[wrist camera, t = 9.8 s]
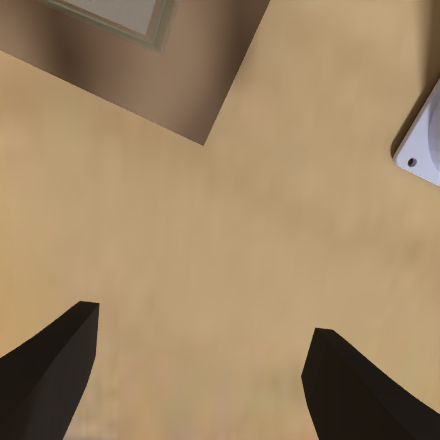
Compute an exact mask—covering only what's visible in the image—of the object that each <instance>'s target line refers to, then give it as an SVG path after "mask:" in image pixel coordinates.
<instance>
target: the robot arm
mask: <svg viewBox="0 0 440 440" xmlns="http://www.w3.org/2000/svg"><path fill="white" fill-rule="evenodd" d="M411 158H413V163H412V164H411V165H409V166H408V160H409V159H411ZM393 162H394V164H395V165H397V166H398V167H400V168H402V169H404V170H406V171H408V172H411V173H413V174H415V175H417V176H419V177H421V178H423V179H425V180H427V181H429V182H431V183H433V184H435V185H437V186H439V187H440V78H439V80H438V82H437V83H436V85H435V87H434V88H433V90H432V92H431V94H430V95H429V97H428V99H427V100H426V102H425V104H424V105H423V107H422V109H421V110H420V112H419V114H418V115H417V117H416V119H415V120H414V122H413V124H412V126H411V127H410V129H409V131H408V132H407V134H406V136H405V137H404V139H403V141H402V142H401V144H400V146H399V147H398V149H397V151H396V152H395V154H394V157H393ZM98 317H99V303H93V302H84V301H79V302H78V303H77V304H75V305H74V306H73V307H71V308H70V309H69V310H68V311H66V312H65V313H64V314H63V315H61V316H60V317H59V318H57V319H56V320H55V321H54V322H52V323H51V324H50V325H48V326H47V327H46V328H44V329H43V330H42V331H40V332H39V333H38V334H36V335H35V336H33V337H32V338H31V339H29V340H28V341H26V342H25V343H23V344H22V345H20V346H19V347H17V348H16V349H14V350H13V351H11V352H9V353H8V354H6V355H5V356H3V357H1V358H0V440H63V437H64V435H65V433H66V431H67V429H68V426H69V424H70V422H71V420H72V417H73V415H74V413H75V411H76V408H77V406H78V404H79V402H80V399H81V397H82V395H83V392H84V390H85V388H86V385H87V382H88V379H89V376H90V373H91V370H92V366H93V363H94V360H95V356H96V344H97V330H98ZM301 378H302V383H303V388H304V393H305V398H306V402H307V406H308V409H309V412H310V415H311V418H312V421H313V424H314V427H315V430H316V432H317V435H318V438H319V440H440V414H438V413H437V412H436V411H434V410H433V409H431V408H430V407H428V406H427V405H425V404H424V403H422V402H421V401H419V400H418V399H417V398H415V397H414V396H413V395H411V394H410V393H409V392H407V391H406V390H405V389H403V388H402V387H401V386H400V385H398V384H397V383H396V382H394V381H393V380H392V379H391V378H389V377H388V376H387V375H386V374H385V373H383V372H382V371H381V370H380V369H379V368H377V367H376V366H375V365H374V364H373V363H371V362H370V361H369V360H368V359H367V358H366V357H365V356H363V355H362V354H361V353H360V352H359V351H358V350H357V349H355V348H354V347H353V346H352V345H351V344H350V343H348V342H347V341H346V340H345V339H344V338H343V337H341V336H340V335H339V334H338V333H336V332H335V331H334V330H331V329H322V328H315V331H314V334H313V338H312V341H311V344H310V348H309V351H308V355H307V358H306V362H305V365H304V369H303V372H302V375H301Z"/></svg>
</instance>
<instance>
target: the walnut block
mask: <svg viewBox="0 0 440 440" xmlns="http://www.w3.org/2000/svg"><path fill="white" fill-rule="evenodd" d="M269 2H270V0H180V1H179V4H178V8H177V11H176V14H175V17H174V20H173V24H172V27H171V30H170V33H169V36H168V39H167V43H166V46H165V49H164V52H163V55H161V54H159V53H156V52H154V51H152V50H149V49H147V48H144V47H142V46H140V45H137V44H135V43H132V42H130V41H128V40H125V39H123V38H120V37H118V36H116V35H113V34H111V33H108V32H106V31H104V30H101V29H99V28H96V27H94V26H91V25H89V24H87V23H84V22H82V21H79V20H77V19H75V18H72V17H70V16H67V15H65V14H63V13H60V12H58V11H55V10H53V9H51V8H49V7H47V6H45V5H43V4H42V3H40V2H37V1H35V0H0V50H1V51H3V52H5V53H7V54H10V55H12V56H14V57H16V58H18V59H20V60H22V61H24V62H26V63H29V64H31V65H33V66H35V67H37V68H39V69H41V70H43V71H46V72H48V73H50V74H52V75H54V76H56V77H58V78H60V79H63V80H65V81H67V82H69V83H71V84H73V85H75V86H77V87H80V88H82V89H84V90H86V91H88V92H90V93H92V94H94V95H97V96H99V97H101V98H103V99H105V100H107V101H109V102H111V103H114V104H116V105H118V106H120V107H122V108H124V109H126V110H128V111H131V112H133V113H135V114H137V115H139V116H141V117H143V118H145V119H148V120H150V121H152V122H154V123H156V124H158V125H160V126H162V127H164V128H167V129H169V130H171V131H173V132H175V133H177V134H179V135H181V136H184V137H186V138H188V139H190V140H192V141H194V142H196V143H198V144H201V145H203V146H204V144H205V142H206V139H207V137H208V135H209V133H210V131H211V129H212V126H213V124H214V122H215V120H216V118H217V115H218V113H219V111H220V109H221V107H222V105H223V102H224V100H225V98H226V96H227V94H228V91H229V89H230V87H231V85H232V83H233V80H234V78H235V76H236V74H237V72H238V70H239V67H240V65H241V63H242V61H243V59H244V56H245V54H246V52H247V50H248V48H249V46H250V43H251V41H252V39H253V37H254V35H255V32H256V30H257V28H258V26H259V24H260V22H261V19H262V17H263V15H264V13H265V11H266V8H267V6H268V4H269Z"/></svg>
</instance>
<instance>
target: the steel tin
mask: <svg viewBox="0 0 440 440" xmlns="http://www.w3.org/2000/svg"><path fill="white" fill-rule="evenodd" d="M35 1H37V2H40V3H42V4H43V5H45V6H47V7H49V8H51V9H53V10H55V11H58V12H60V13H63V14H65V15H67V16H70V17H72V18H75V19H77V20H79V21H82V22H84V23H87V24H89V25H91V26H94V27H96V28H99V29H101V30H104V31H106V32H108V33H111V34H113V35H116V36H118V37H120V38H123V39H125V40H128V41H130V42H132V43H135V44H137V45H140V46H142V47H144V48H147V49H149V50H152V51H154V52H156V53H159V54H161V55H163V52H164V49H165V46H166V43H167V39H168V36H169V33H170V30H171V27H172V24H173V20H174V17H175V14H176V11H177V8H178V4H179V1H180V0H35Z"/></svg>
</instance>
